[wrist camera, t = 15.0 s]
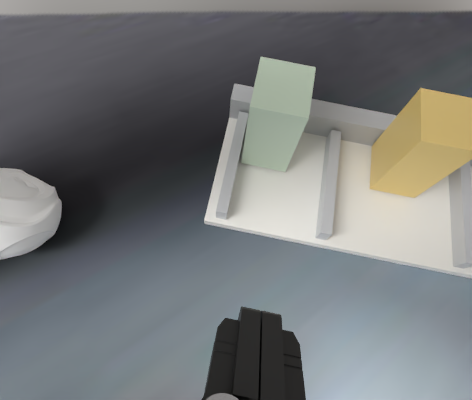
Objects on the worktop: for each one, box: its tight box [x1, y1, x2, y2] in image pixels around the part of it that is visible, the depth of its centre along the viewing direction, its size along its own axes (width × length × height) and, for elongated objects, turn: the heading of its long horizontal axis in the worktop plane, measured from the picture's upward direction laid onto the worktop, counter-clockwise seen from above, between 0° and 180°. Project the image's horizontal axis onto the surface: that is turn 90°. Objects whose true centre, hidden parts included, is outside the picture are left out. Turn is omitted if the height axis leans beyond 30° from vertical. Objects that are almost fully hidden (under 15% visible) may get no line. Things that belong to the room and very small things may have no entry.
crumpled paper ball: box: [0, 168, 62, 260], centre depth 28 cm, size 8×8×8 cm
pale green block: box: [241, 57, 316, 172], centre depth 30 cm, size 5×4×9 cm
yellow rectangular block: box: [370, 88, 472, 198], centre depth 30 cm, size 5×4×9 cm
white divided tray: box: [204, 84, 472, 279], centre depth 33 cm, size 14×35×4 cm, turn 79°
